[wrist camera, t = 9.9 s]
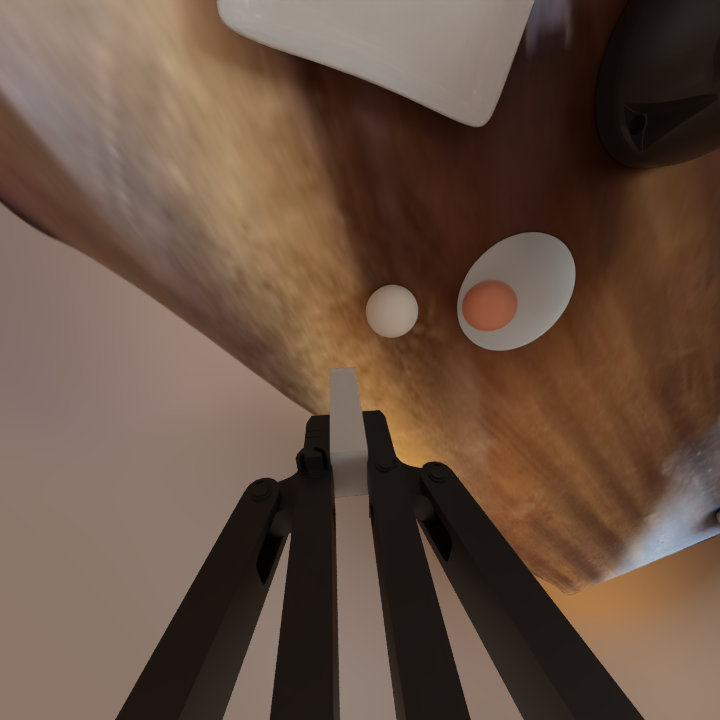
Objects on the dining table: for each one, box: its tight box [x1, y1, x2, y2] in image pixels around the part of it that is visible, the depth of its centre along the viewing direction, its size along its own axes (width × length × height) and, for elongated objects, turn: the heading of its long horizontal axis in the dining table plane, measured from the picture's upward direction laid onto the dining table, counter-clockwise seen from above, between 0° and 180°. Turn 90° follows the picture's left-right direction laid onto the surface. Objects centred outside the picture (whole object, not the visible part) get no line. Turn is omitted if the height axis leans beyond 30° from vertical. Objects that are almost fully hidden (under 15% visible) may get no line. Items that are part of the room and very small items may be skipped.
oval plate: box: [457, 232, 575, 351], centre depth 33 cm, size 14×14×1 cm
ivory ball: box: [366, 285, 418, 338], centre depth 30 cm, size 6×6×6 cm
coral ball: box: [462, 280, 518, 331], centre depth 30 cm, size 6×6×6 cm
